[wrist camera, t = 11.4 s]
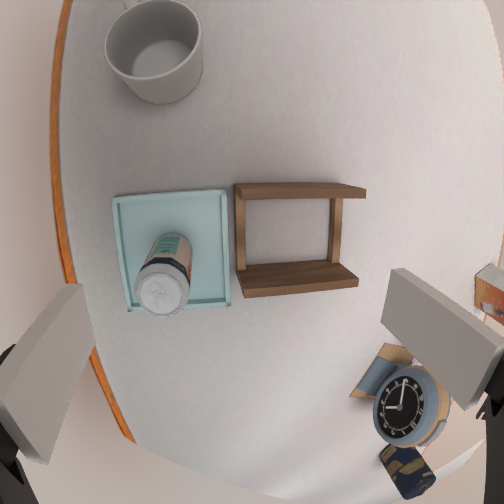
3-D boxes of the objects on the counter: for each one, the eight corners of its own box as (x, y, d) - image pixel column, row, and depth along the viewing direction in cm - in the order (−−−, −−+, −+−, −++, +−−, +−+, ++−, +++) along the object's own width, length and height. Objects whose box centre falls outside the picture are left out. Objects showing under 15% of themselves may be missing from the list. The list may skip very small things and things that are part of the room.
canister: (371, 460, 60) (398, 508, 43) (391, 438, 57) (423, 487, 40) (395, 455, 62) (422, 498, 45) (414, 434, 60) (446, 477, 43)
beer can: (169, 277, 35) (156, 330, 24) (145, 246, 34) (120, 288, 22) (200, 256, 35) (201, 302, 24) (177, 223, 33) (165, 256, 22)
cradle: (234, 183, 34) (241, 189, 27) (338, 182, 36) (366, 189, 29) (236, 273, 37) (244, 298, 31) (333, 265, 39) (358, 286, 32)
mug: (214, 83, 30) (220, 50, 20) (148, 118, 30) (124, 100, 20) (172, 10, 26) (163, -38, 15) (109, 43, 26) (78, 6, 15)
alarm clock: (387, 337, 45) (448, 403, 28) (420, 345, 48) (477, 400, 31) (346, 400, 48) (387, 470, 32) (381, 401, 51) (423, 462, 34)
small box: (474, 274, 45) (512, 295, 35) (489, 262, 46) (526, 280, 36) (473, 306, 48) (507, 329, 38) (488, 294, 48) (521, 314, 38)
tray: (115, 196, 32) (111, 198, 30) (225, 188, 34) (226, 189, 32) (130, 305, 36) (127, 311, 34) (229, 299, 38) (231, 305, 36)
